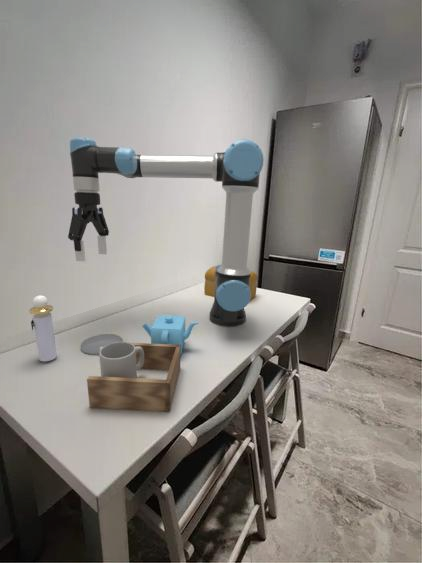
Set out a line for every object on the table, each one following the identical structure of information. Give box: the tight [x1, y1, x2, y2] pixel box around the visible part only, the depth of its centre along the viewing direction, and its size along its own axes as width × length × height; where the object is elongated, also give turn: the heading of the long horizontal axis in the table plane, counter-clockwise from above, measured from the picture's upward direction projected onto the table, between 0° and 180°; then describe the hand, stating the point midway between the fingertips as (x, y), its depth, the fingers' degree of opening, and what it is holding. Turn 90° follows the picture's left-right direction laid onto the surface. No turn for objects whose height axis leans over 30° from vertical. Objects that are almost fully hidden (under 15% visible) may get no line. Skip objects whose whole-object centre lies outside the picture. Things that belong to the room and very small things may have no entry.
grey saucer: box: [79, 333, 124, 356], centre depth 91 cm, size 13×13×1 cm
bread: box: [204, 265, 258, 303], centre depth 143 cm, size 24×13×15 cm, turn 61°
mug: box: [98, 341, 144, 378], centre depth 71 cm, size 12×8×11 cm
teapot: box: [141, 314, 200, 356], centre depth 89 cm, size 16×18×11 cm
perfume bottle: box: [28, 294, 58, 362], centre depth 80 cm, size 6×6×20 cm
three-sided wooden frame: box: [86, 342, 181, 413], centre depth 71 cm, size 18×17×8 cm
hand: (92, 257), depth 95 cm, fingers open, 13 cm apart
